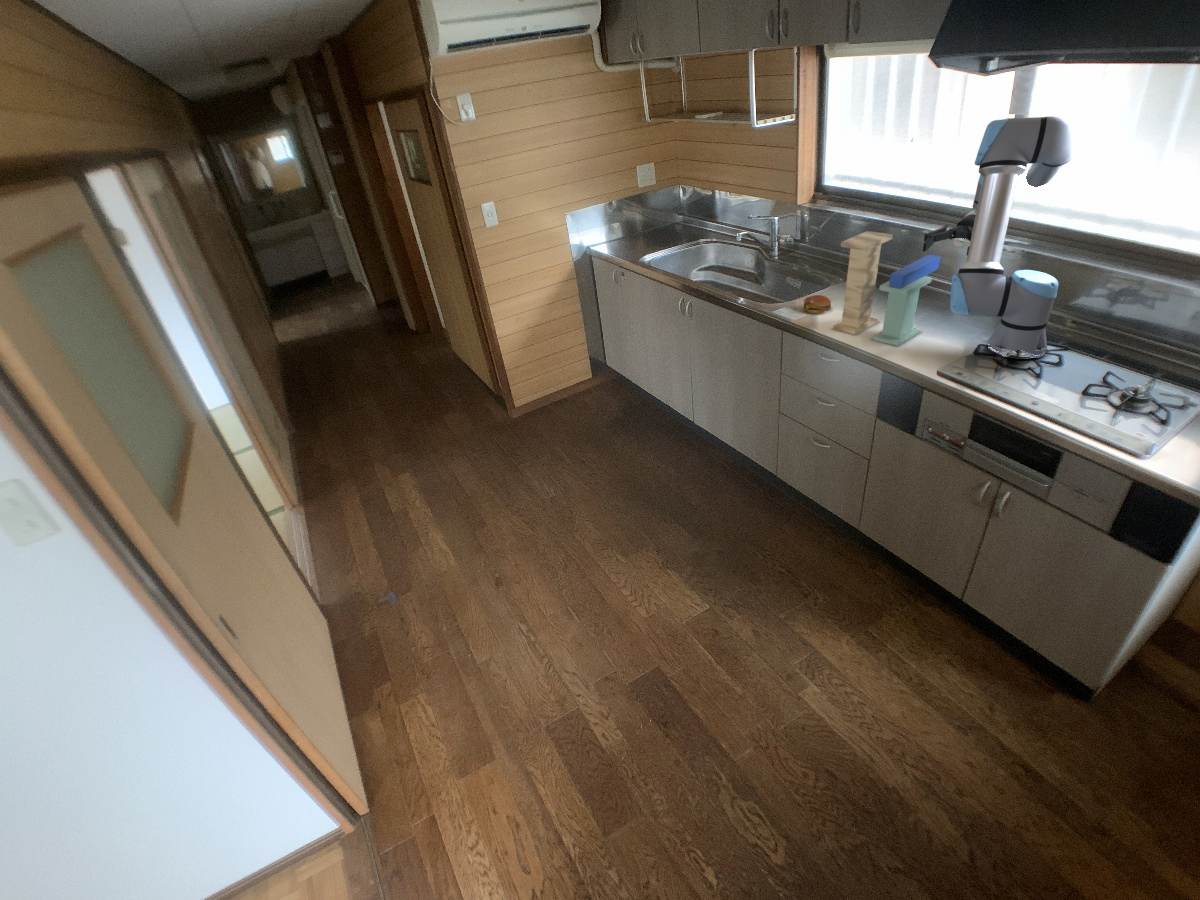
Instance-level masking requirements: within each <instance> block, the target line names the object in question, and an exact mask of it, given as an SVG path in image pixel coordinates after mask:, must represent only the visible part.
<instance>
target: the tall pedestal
mask: <svg viewBox="0 0 1200 900" xmlns="http://www.w3.org/2000/svg"><path fill="white" fill-rule="evenodd" d="M893 237H894V234H892V233H884V232H878V231H870V230H867V231H864V232H861V233H859V234H856V235H854V236H852V237H850V238H847V239H844V240H843V241H841V242H840V247H841V248H845V249H846V248H847V249H849V250H850V251H849V257H848V267H847V274H846V275H847V276H846V283H845V290H844V291H845V292H844V302H843V307H842V317H841V321H840V322H838V323H836V324H834V325H833V326H832V329H833V330H835V331H839V332H842V333H846V334H850V335H854V336H855V335H858V334H859V333H861V332H863V331H865V330H866V329H868V328H870V327H872V326H874V325H876V324H877V323H878V322H879V319H878V318H876V317H872V311H873V304H874V298H875V297H874V296H875V291H876V284H877V276H878V271H879V263H880V256H881V249H882V244H885V243H887V242H889V241H892V240H893Z"/></svg>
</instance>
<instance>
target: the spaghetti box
mask: <svg viewBox="0 0 1200 900" xmlns="http://www.w3.org/2000/svg"><path fill="white" fill-rule="evenodd" d="M941 258H942V256H940V255H934V254H928V255H925V256H923V257H921V258H919V259H917V260H915V261H913V262H911V263H908V264H907V265H905V266H904V267H901V268H899V269H897V270H895V271H892V272H891V273H890V276H889V277H890V278H889V281H890V283H889V286H891V287H896V288H903V287H905V286H907V285H908V284H910V283H912V282H914V281H916V280H918V279H920V278H922V277H924V276H927V275H929V274H931V273H933V272H935V271H937V270H939V268H940V263H941Z"/></svg>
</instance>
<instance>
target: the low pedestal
mask: <svg viewBox="0 0 1200 900" xmlns="http://www.w3.org/2000/svg"><path fill="white" fill-rule="evenodd" d="M932 280H933V277H931V276H927V275H925V276H924V277H922V278H920V279H918V280H916V281H914V282H912V283H910V284H908V285H907V286H905V287H903V288H896V287H891V286H889V283H890V280H888V281H886V282H883V283H882V284H880V285H879V287H878V290H879V291H882V292H886V293H888V295H887V301H886V302H887V303H886V306H885V314H884V320H883V327H882V331H881V332H879V333H877V334H875V335H874V336H873V338H872V340H873V341H877V342H880V343H884V344H888V345H892V346H896V347H899V346H900V345H902V344H903V343H905V342H906V341H908V340H910V339H911V338H913V337H914V336H917V335H918V334H919V333H920V332H921V328H917V327H914V324H915V318H916V312H917V307H918V301H919V296H920V290H921V288H924V287H925V286H927V285H928V284H931V283H932Z"/></svg>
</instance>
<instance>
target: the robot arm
mask: <svg viewBox="0 0 1200 900" xmlns="http://www.w3.org/2000/svg"><path fill="white" fill-rule="evenodd" d="M1080 145H1081V136H1080V131H1079V130H1078V128H1077V127H1076V126H1075V124H1073V123H1072V122H1071V121H1069V120H1067V119H1065V118H1062V117H1059V116H1053V115H1052V116H1051V115H1050V116H1040V117H1039V116H1038V117H1012V118H1011V117H1010V118H1009V117H1007V118H1003V119H995V120H992V121H990V122H989V123H988V124H987V126H986V128H985V131H984V133H983V137H982V140H981V142H980V145H979V147H978V151H977V154H976V157H975V161H974V165H975V166H979V167H978V173H979V178H978V181H977V185H976V190H975V195H974V200H973V203H972V207H973V209H972V208H971V210H970V211H969V212H968V213H967V214H966V215H964V216H963V217H962V218H961V219H960V220H959V221H958V223H956V226H953V227H949V225H948V224H947V225H943V226H942V227H940V228H938V229H935V230H932V231H929V232H927V233H924V237H923V242H924V243H923V246H922V252H927V251H928V250H929V249H930V248H931V247H932V246H933V245H934V243H937V242H942V241H946V240H955V239H963V238H964V239H963V240H967V241H968V242H969V245H968V247H967V250H966V262H965V263H964V264H963V265H962V266H961V267H959V268H958V273H955V274H952V275H951V284H950V298H949V299H950V301H949V302H950V304H949V305H950V306H949V307H950V310H951V312H952V313H953V314H955V315H956V314H957V315H966V316H978V317H979V316H982V317H997V318H998V317H999V318H1000V321H999V324H997V327H996V328H995V330H994V331H993V332H992V334H991V335H990V337H989V338H988V341H987V343H988V344H990V345H991V347H992V348H993V349H995V350H996V351H999V352H1006V351H1016V350H1023V351H1025V352H1028V353H1031V354H1034V355H1038V356H1036V359H1040V358H1042V357H1045V355H1046V352H1047V348H1048V346H1049V347H1054V348H1060V349H1066V350H1067V349H1069V345H1065V344H1059V343H1054V342H1048V341H1047V330H1046V329H1047V325H1048V321H1049V319H1050V315H1051V312H1052V309H1053V306H1054V303H1055V300H1056V298H1057V295H1058V294H1057V293H1058V290H1059V285H1060V284H1059V281H1058V279H1057V278H1055V277H1054V276H1053V275H1052V274H1051V275H1050V274H1048V273H1046V272H1041V271H1038V270H1033V269H1032V270H1031V269H1018V270H1015V271H1014V272H1013V273H1012V274H1011V276H1008V275H1007V276H1005V275H1004V273H1005V268H1004V267H1003V266H1002V265H1001V259H1002V253H1003V249H1004V245H1005V240H1006V235H1007V231H1008V225H1009V221H1010V217H1011V211H1012V206H1013V202H1014V198H1015V197H1014V193H1015V188H1016V184H1017V179H1018V176H1019V175H1020V174H1022V173H1025V172H1026V171H1027V172H1028V173H1027V176H1026V179H1027V182H1028V184H1029V185H1031V186H1034V187H1038V186H1041V185H1044V184H1046V183H1048V182H1049V181H1050V180H1052V179H1053V178H1054V176H1055V175H1056V174H1057V175H1058V172H1059V171H1060V170H1061V168H1062V167H1063V166H1064V165H1066V164H1068V163H1069V162H1070V161H1071V160H1072V159H1074V157H1075V156H1076V154H1077V153H1078V151H1079V149H1080ZM1028 164H1029V165H1030V164H1031V165H1030V167H1029V168H1028V170H1027V166H1028ZM965 238H966V239H965ZM987 351H988V352H989V353H991V354H993V355H995V356H998V357H1001V358H1003V357H1002V354H999V353H996V352H994V351H992V350H991V349H990V348H988V349H987ZM1039 355H1040V356H1039ZM1036 359H1035V360H1036Z"/></svg>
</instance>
